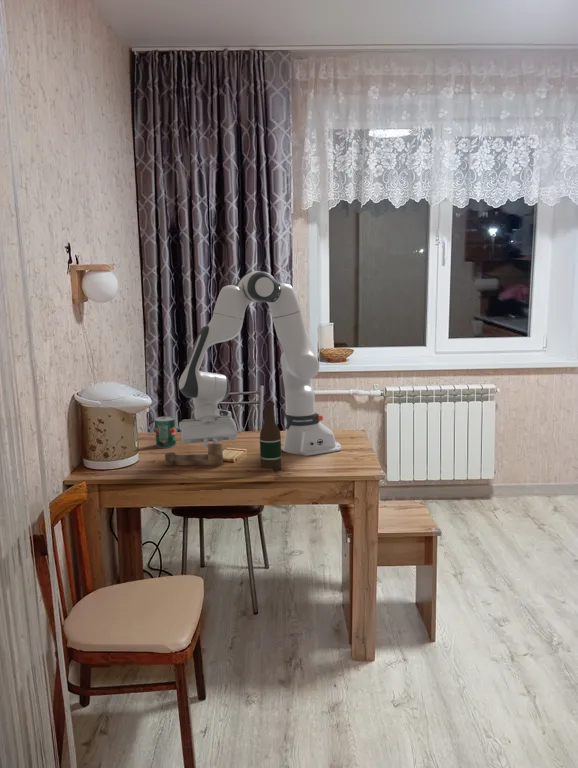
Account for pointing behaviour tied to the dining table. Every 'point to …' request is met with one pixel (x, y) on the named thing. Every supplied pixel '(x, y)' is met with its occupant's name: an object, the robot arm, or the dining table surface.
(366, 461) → the dining table surface
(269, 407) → the beer bottle
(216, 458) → the wooden l-shaped block
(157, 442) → the canned tomato
